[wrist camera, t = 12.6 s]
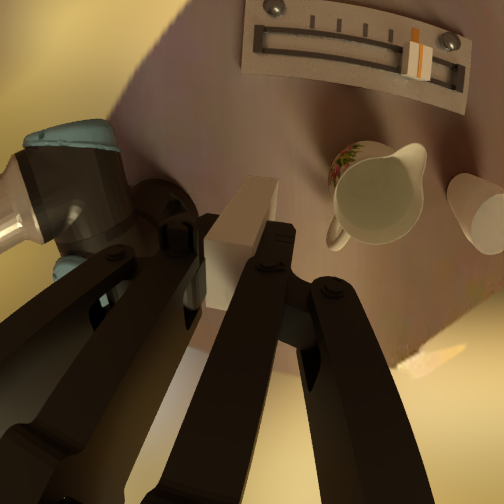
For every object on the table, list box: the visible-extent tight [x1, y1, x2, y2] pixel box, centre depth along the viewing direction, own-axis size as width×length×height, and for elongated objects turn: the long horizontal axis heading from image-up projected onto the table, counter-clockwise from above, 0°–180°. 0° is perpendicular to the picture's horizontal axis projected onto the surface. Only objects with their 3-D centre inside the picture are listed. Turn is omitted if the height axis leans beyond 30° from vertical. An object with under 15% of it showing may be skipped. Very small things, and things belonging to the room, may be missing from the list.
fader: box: [399, 41, 433, 81], centre depth 28 cm, size 3×4×5 cm, turn 177°
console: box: [241, 0, 472, 115], centre depth 31 cm, size 32×12×4 cm, turn 87°
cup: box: [447, 173, 504, 255], centre depth 35 cm, size 9×9×12 cm
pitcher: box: [326, 141, 427, 251], centre depth 37 cm, size 11×18×14 cm, turn 153°
